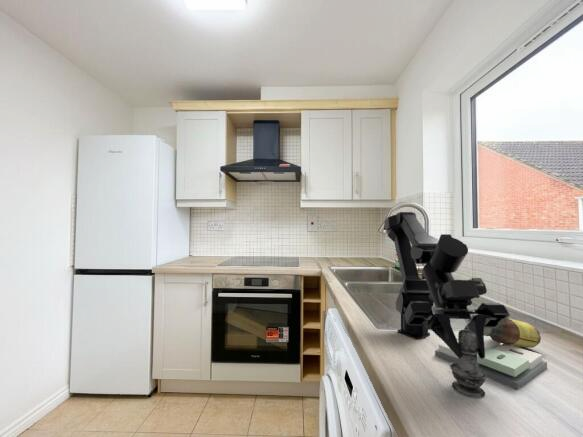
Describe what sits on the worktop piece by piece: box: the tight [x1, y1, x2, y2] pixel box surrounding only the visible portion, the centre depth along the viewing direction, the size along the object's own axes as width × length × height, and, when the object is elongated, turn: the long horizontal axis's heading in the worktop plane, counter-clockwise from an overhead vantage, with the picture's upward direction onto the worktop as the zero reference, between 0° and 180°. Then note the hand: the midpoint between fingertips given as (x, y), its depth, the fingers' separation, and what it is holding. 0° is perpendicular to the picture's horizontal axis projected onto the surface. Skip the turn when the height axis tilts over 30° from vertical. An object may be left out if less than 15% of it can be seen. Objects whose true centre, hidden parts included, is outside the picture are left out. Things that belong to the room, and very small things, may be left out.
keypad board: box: [434, 336, 548, 390], centre depth 62 cm, size 16×16×3 cm
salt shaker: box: [449, 324, 488, 399], centre depth 51 cm, size 6×6×12 cm
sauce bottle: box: [484, 317, 542, 349], centre depth 66 cm, size 7×6×20 cm
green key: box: [477, 347, 529, 377], centre depth 56 cm, size 7×7×3 cm
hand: (471, 357), depth 49 cm, fingers closed on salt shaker, 4 cm apart
